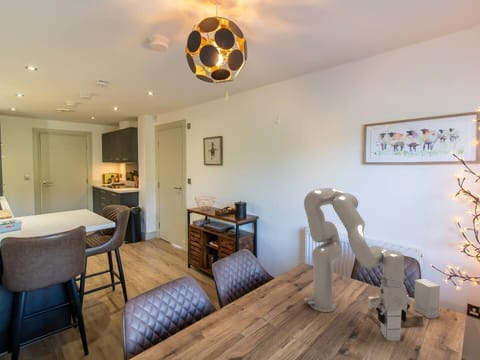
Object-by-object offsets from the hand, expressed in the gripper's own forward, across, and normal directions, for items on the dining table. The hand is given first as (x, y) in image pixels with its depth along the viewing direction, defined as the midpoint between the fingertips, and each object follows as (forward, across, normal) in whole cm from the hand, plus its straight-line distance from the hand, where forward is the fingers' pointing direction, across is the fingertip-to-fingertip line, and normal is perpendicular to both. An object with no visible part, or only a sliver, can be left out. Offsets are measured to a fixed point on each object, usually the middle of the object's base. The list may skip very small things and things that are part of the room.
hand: (391, 320), depth 111 cm
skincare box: (+7, +29, +14) cm, 32 cm away
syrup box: (+7, 0, +1) cm, 7 cm away
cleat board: (+7, +10, +10) cm, 16 cm away
